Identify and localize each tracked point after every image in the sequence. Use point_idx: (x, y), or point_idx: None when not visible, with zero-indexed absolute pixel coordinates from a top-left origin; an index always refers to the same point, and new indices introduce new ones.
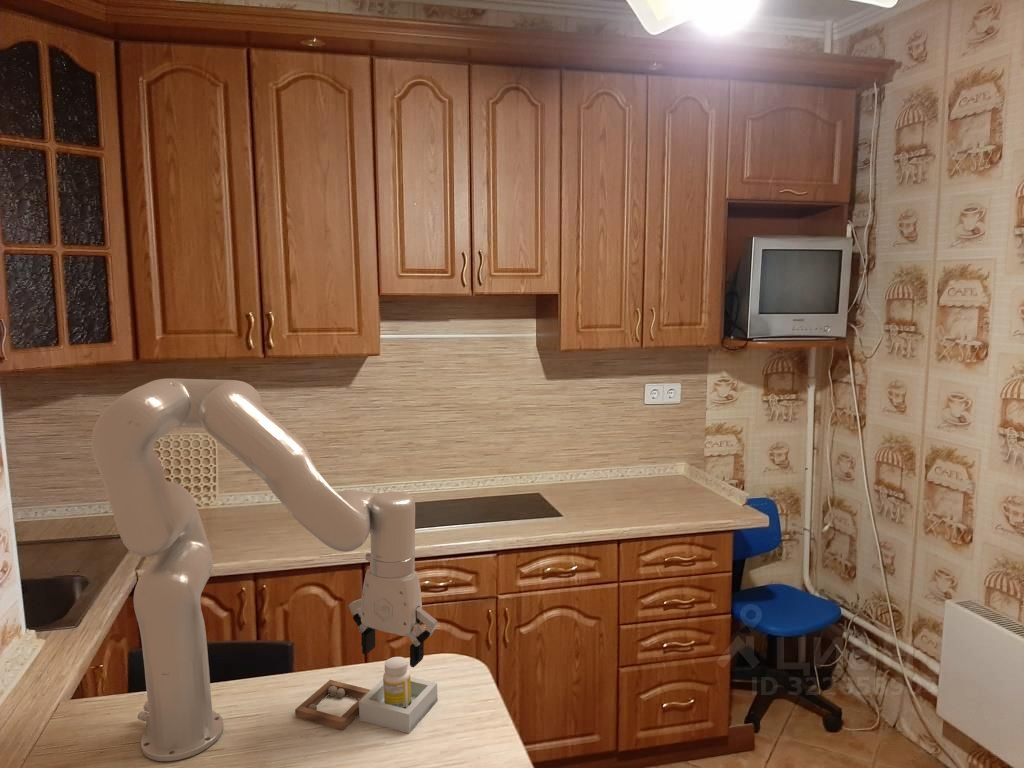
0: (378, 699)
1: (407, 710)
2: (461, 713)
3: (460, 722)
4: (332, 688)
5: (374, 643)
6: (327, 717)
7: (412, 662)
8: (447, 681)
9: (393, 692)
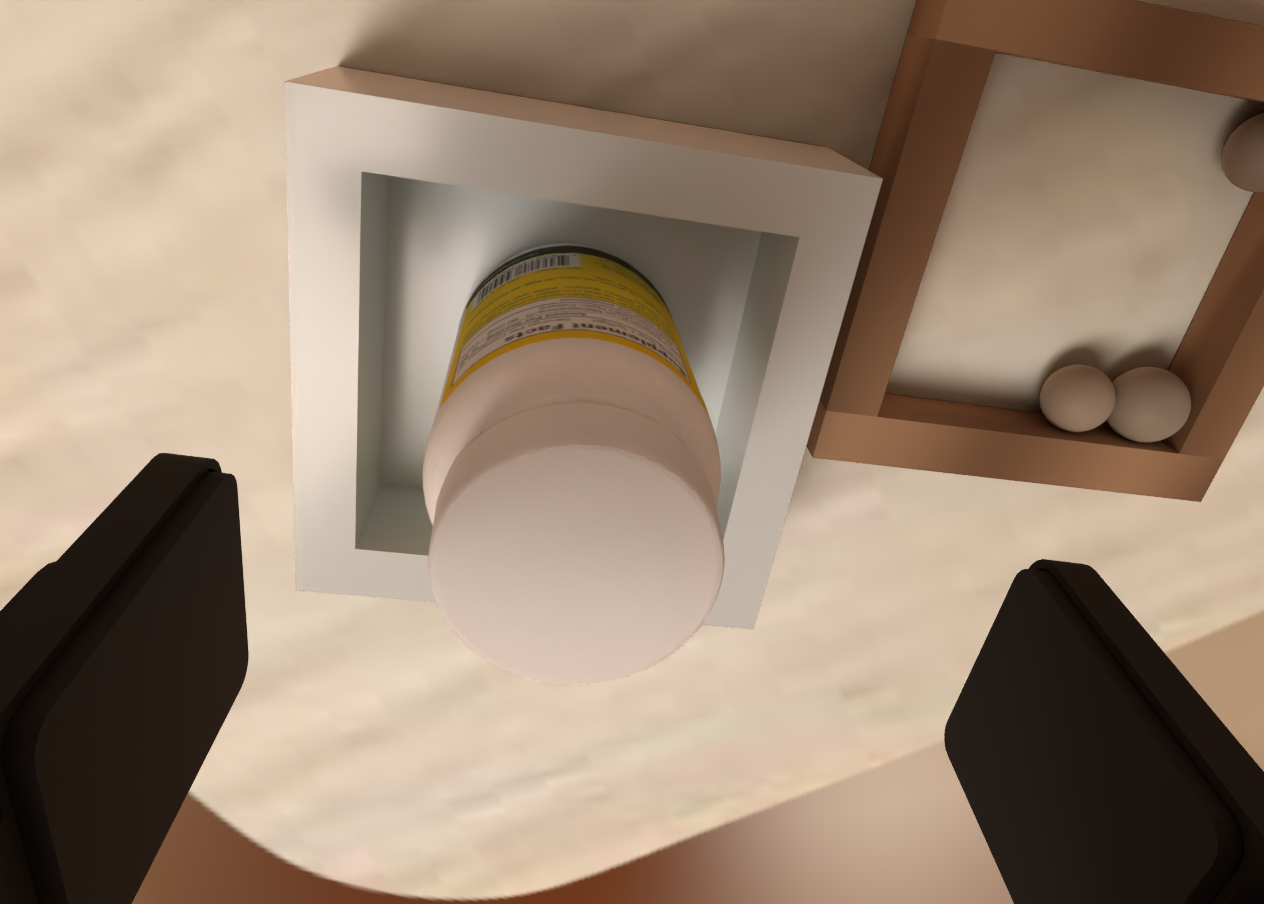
0: (743, 356)
1: (333, 146)
2: (79, 414)
3: (15, 310)
4: (1162, 402)
5: (969, 772)
6: (1117, 10)
7: (134, 492)
8: (381, 697)
9: (548, 302)
